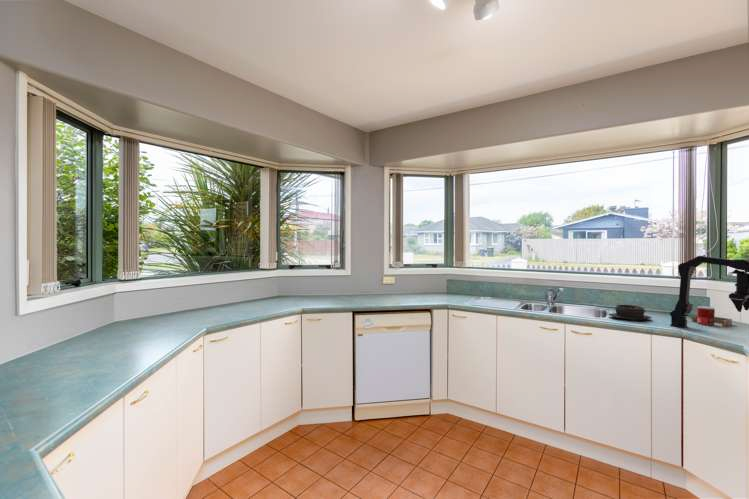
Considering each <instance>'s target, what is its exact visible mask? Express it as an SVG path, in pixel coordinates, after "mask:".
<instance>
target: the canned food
mask: <svg viewBox="0 0 749 499" xmlns="http://www.w3.org/2000/svg"><path fill="white" fill-rule="evenodd" d="M696 308H697V313H696V315H697V321H696V323H697V324H698V325H700V324H701V326H706V325H708V327H709V326H711V327H712V326H715V322H714V317H716V316H715V314H716V313H715V307H713V306H705V305H698V306H697V307H696Z"/></svg>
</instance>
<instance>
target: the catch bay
mask: <svg viewBox="0 0 749 499" xmlns="http://www.w3.org/2000/svg"><path fill="white" fill-rule="evenodd" d="M691 322H693V323H694V322H697V314H696V315H692V316H691ZM714 323H717V324H721V327H722V328H724V327H729V326H732V325H733V320H732V318H727V317H720V316H718V317H717V316H714Z"/></svg>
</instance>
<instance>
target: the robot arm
mask: <svg viewBox="0 0 749 499" xmlns="http://www.w3.org/2000/svg"><path fill="white" fill-rule="evenodd" d="M701 264H709V265H717V266H723V267H724V266H725V267H729V268H732V269H734V270H733V271H731V272H730V274H733V275H735V274H736V279H735V280H736V283H734V286H735V291H734V292H731V293H729V294H728V299H729V300H731V302H732V304H733V305H734V307H735V309H736V311H737V312H739V313H741V312H742V310H743V309H744V310H745V311H749V259H746V258H745V259H728V258H720V257H719V258H718V257H712V256H705V255H697V256H696V257H694V258H692V259H690V260H687V261H686V262H681V263H679V264H678V266H677V268H678V274H679V277H680V281H679V282H680V283H679V295H678V300H677V302H676V303H675V307H674V310H672V311H670V312H669V315H670V318H671V319H670V320H671V321H670V322H671V323H670V324H669V326H671V327H676V328H681V329H682V328H687V327H688V319H687V316H688V315H689V314H690V313H691V312H692V311H694V310H693V306H694V304H693V303H691V302H690V291H691V290H690V289H691V279H692V276H693V275H694V272H695V269H696V268H697V267H699V266H700V265H701Z"/></svg>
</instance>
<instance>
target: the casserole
mask: <svg viewBox="0 0 749 499" xmlns="http://www.w3.org/2000/svg"><path fill="white" fill-rule="evenodd" d="M614 310H615V312H613V313H612V312H611V313H608V316H609V317H613V318H618V319H622V320H626V321H642V320H648V319H652V318H653V317H652V316H649V315H646V314H645V313H646V310H645V308H644V307H643V306H639V305H633V304H617V305H616V306H615V307H614Z"/></svg>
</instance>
